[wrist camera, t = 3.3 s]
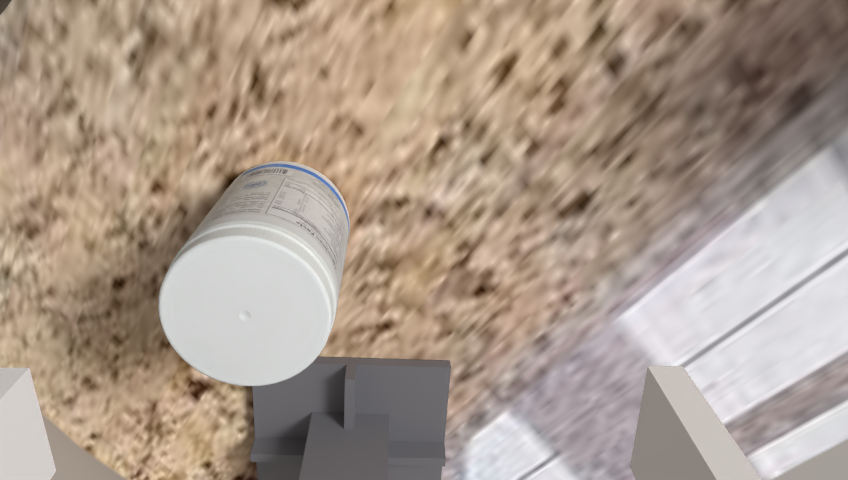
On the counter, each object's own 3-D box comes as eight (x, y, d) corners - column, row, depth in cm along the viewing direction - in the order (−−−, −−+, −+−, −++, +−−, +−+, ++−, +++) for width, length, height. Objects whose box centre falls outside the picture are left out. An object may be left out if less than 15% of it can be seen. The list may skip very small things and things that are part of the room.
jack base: (261, 504, 59) (238, 592, 51) (253, 354, 53) (226, 427, 45) (436, 507, 60) (442, 594, 52) (449, 360, 54) (458, 433, 45)
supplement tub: (299, 298, 51) (262, 421, 38) (196, 225, 48) (116, 328, 35) (378, 211, 48) (370, 308, 35) (274, 128, 46) (221, 199, 32)
